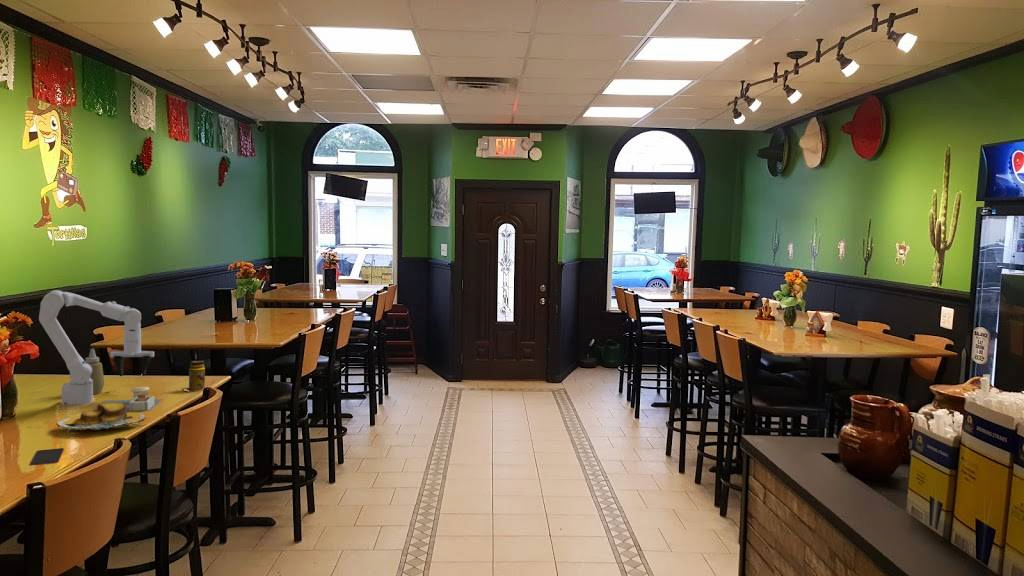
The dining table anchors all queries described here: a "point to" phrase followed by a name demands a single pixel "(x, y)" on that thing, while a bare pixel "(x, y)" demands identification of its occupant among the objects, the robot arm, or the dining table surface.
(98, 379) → the squeeze bottle
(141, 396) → the tan small block
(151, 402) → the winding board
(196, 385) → the condiment
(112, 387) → the dining table surface
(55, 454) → the smartphone
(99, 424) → the food on plate
